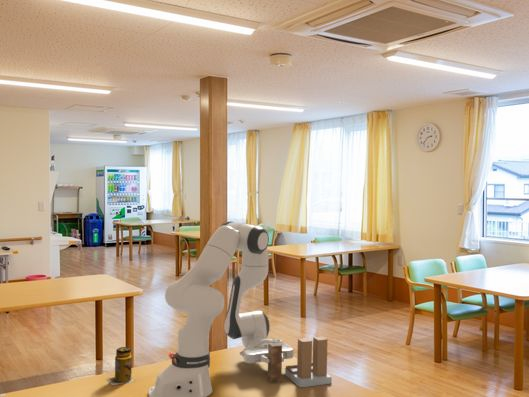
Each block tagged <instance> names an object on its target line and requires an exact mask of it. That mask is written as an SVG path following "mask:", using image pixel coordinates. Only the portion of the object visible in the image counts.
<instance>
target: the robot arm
mask: <svg viewBox="0 0 529 397" xmlns="http://www.w3.org/2000/svg"><path fill="white" fill-rule="evenodd" d="M269 242H270V237H269V234H268V232H267V230H266V229H265V228H263V227H261V226H259V225H253V224H249V223H245V222H238V221H237V222H236V221H225V222H223V223H222V224H221V225H220V226H219V227H217V229H216V230H215V231H214V233H213V234H212V235H211V237H210V238H209V239H208V241H207V243H206V244H205V246H204V248H203V250H202V252H201V253H200V255H199V257H198V258H197V260H196V262H195V263H194V265H193V266H192V267H191V268H190V269H189V270H187V272H186V273H185V274H184V275H182V276H181V277H180V278H179V279H177V280H175V281H173V282H171V283H170V284H169V285H168V287H167V288H166V290H165V293H164V294H165V295H164V297H165V301H166V304H167V305H168V306H169V307H171V308H173V309H174V310H175V311H179V312H182V313H184V314H187V318H186V322H185V324H184V325H182V326H181V327H180V329H179V330H178V332H177V352H176V353H174V352H172V351H170V352H169V353H168V357H169V359H170V360H171V364H169V365H168V366H167V367H166V368H165V369H163V370H162V371H160V373H158V374H157V376H156V378H155V379H156V380H155V384H154V385H153V386H151V387H149V389H148V393H147V394H148V397H209V396H210V395H212V393H213V387H212V383H211V377H210V365H211V353H210V351H209V348H210V331H211V327H212V325H213V322H214V320H215V319H216V318H217V317H219V316H220V315H221V313H222V312H223V310H224V307H225V296H224V294H223V293H222V292H221V291H220V290H218V289H216V288H214V287H212V286H211V285H212V284H214V283H215V282H217V281H219V280H221V279H222V278H223V277H224V275H225V273H226V271H227V269H228V267H229V265H230V264H231V261H232V260H233V258H234V255H235V254H236V251H238V252H242V254H241V268H240V271H239V273H238V275H237V276H235V277H234V278H233V281H232V285H231V290H230V295H229V296H230V297H229V299H228V300H229V301H228V306H227V312H226V316H225V318H224V324H223V326H224V327H223V328H224V333H225V335H226V336H227V337H229V338H230V339H232V340H237V339H241V342H242V345H243V347H244V348H245V349H243V350H241V351H240V352H239V355H240V356H241V357H242V358H243V361H244V362H245V363H247V364H256V363H265V364H267V365H268V363H271V358H269V357H268V343H276V342H278V343H280V344H281V345H282V363H284V362H285V360H289V359H290V360H291V359H293V358H294V355H295V352H294V348H293V347H292V346H291V345H289V344H288V343H284V340H283V339H274V338H268V335H269V333H270V326H271V325H270V320H269V317H268V316H267V315H266V314H265V312H263V311H262V310H253V311H252V310H251V311H247V312H241V313H240V309H241V304H242V299H243V297H244V294H245V293H246V292H248V291H249V290H252V289H253V288H255V287H256V286H259V285H261V284H262V283H263V282H264V281H265V280H266V279H267V276H268V274H269V250H268V245H269Z"/></svg>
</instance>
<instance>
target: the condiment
mask: <svg viewBox="0 0 529 397" xmlns="http://www.w3.org/2000/svg"><path fill="white" fill-rule="evenodd" d="M115 352H116V354H115V357H114V377H108V378H106V379H107V382H109V384H110V385H111V386H118V385H122V384H123V385H124V384H127V383H134V382H135V380H134V379H133V377H132V370H133V369H132V363H133V362H132V361H133V360H132V359H133V358H132V357H133V356H132V353H131V352H132V349H131V347H129V346H121V347H118V348H117V349H116V351H115Z"/></svg>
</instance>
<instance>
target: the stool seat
mask: <svg viewBox="0 0 529 397" xmlns="http://www.w3.org/2000/svg"><path fill="white" fill-rule="evenodd" d="M296 361H297V363H296V364H292V365H290V364H289V365H285V368H284V370H285V372H284V375H287V376H286V377H287V378H288V379H289V380H291V381H292V383H293V382H294V384H295V385H297V386H298V387H299V388H300V389H301V388H302V387H303V388H309V387H313V386H314V387H316V386H322V385H328V384H329V385H331V384H332V380H333V379H332V376H331V375H329V374H328V373H327V372H328V339H327V337H324V336H322V335H321V336H313V337H312V340H311V339H310V338H309V337H304V338H297V360H296Z"/></svg>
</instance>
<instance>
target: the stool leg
mask: <svg viewBox="0 0 529 397" xmlns="http://www.w3.org/2000/svg"><path fill="white" fill-rule="evenodd" d="M268 357H269V358H271V363H268V364H267V380H268V381H269V383H271V384H276V383H282V371H283V370H282V369H283V368H282V364H283V362H282V345H281V344H280V343H278V342H276V343H268Z"/></svg>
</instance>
